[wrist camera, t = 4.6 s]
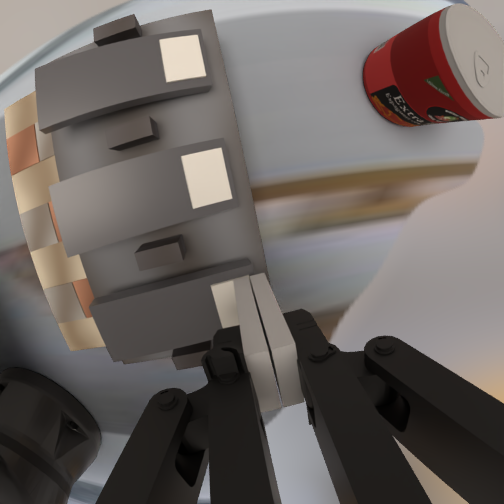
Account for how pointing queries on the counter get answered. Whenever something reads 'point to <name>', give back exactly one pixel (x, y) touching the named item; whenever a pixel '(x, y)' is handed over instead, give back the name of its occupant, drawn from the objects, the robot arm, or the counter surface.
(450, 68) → the canned food
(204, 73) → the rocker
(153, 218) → the rocker middle
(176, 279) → the rocker
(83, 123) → the switch unit
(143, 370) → the counter surface
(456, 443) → the robot arm
